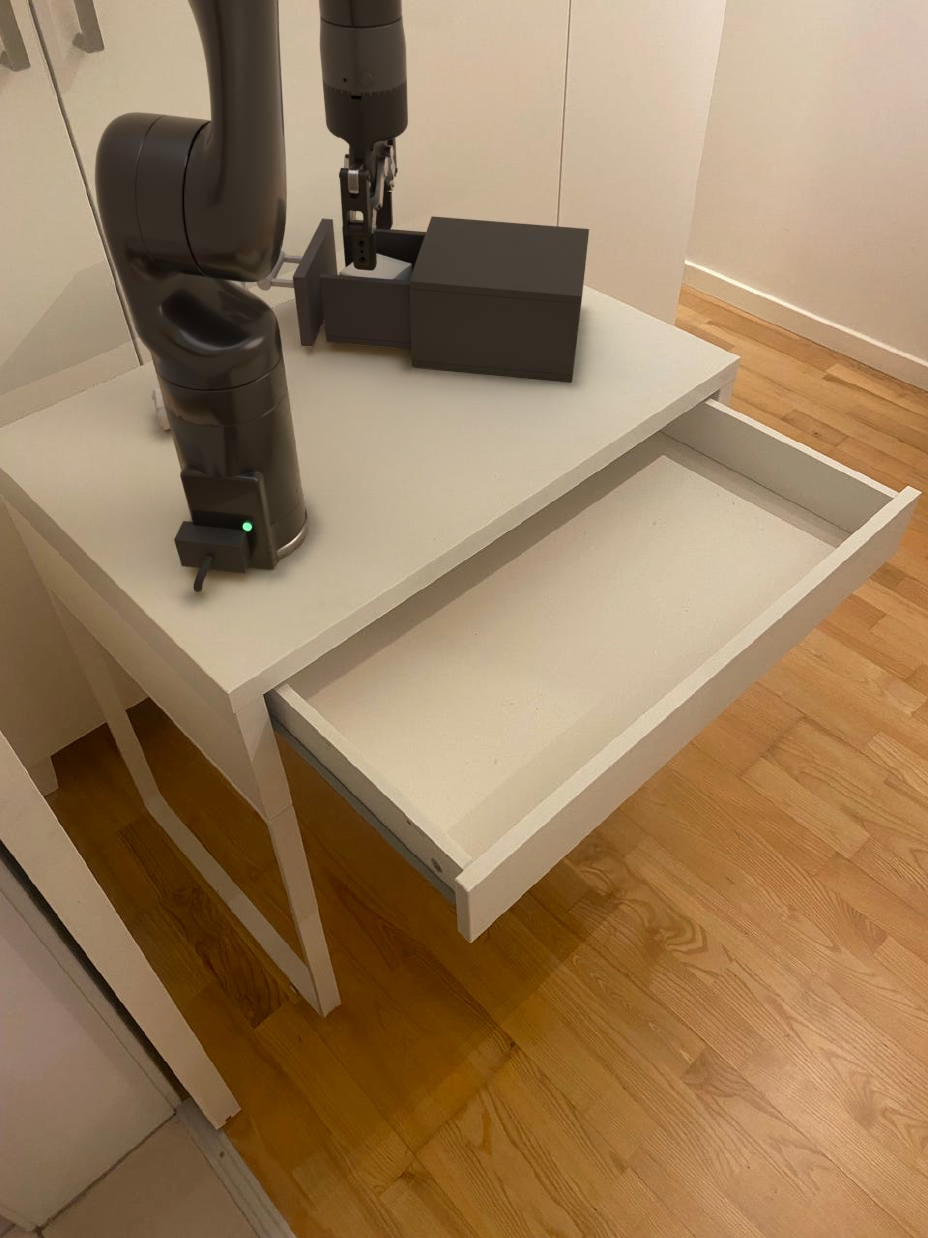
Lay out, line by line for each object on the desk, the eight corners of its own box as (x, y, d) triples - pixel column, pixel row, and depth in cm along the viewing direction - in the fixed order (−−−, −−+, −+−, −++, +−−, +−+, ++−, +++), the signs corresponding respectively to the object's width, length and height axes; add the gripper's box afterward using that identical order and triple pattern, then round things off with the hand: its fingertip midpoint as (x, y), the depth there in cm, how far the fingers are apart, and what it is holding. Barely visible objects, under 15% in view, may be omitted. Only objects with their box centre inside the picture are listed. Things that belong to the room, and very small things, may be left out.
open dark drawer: (254, 341, 100) (243, 272, 94) (285, 281, 108) (276, 214, 102) (448, 359, 98) (448, 289, 93) (464, 297, 107) (466, 229, 101)
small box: (414, 305, 103) (413, 262, 100) (385, 329, 100) (383, 286, 96) (370, 290, 105) (367, 248, 101) (340, 314, 102) (336, 271, 98)
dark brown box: (411, 367, 99) (409, 280, 92) (432, 299, 108) (431, 215, 101) (571, 382, 98) (582, 295, 91) (579, 312, 107) (589, 228, 100)
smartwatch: (183, 435, 91) (174, 399, 88) (159, 438, 90) (150, 403, 87) (179, 413, 93) (171, 377, 90) (157, 416, 93) (147, 381, 90)
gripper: (340, 42, 90) (352, 212, 102) (303, 99, 80) (321, 279, 93) (419, 48, 89) (422, 218, 101) (391, 105, 80) (397, 286, 92)
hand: (374, 247), depth 97 cm, fingers open, 8 cm apart
